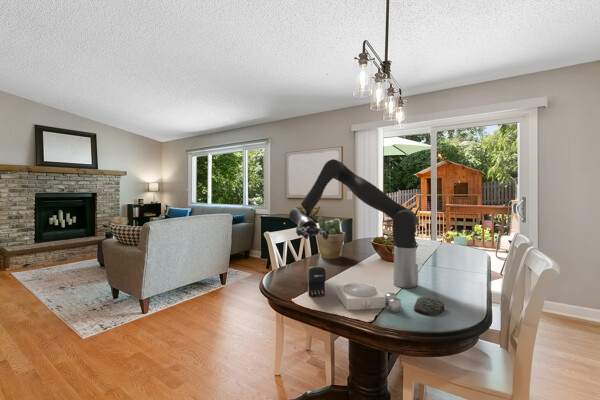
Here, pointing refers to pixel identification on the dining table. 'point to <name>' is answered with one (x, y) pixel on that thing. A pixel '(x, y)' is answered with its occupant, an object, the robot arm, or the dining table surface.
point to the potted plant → (330, 239)
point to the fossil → (428, 305)
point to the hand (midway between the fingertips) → (317, 237)
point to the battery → (316, 281)
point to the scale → (360, 296)
